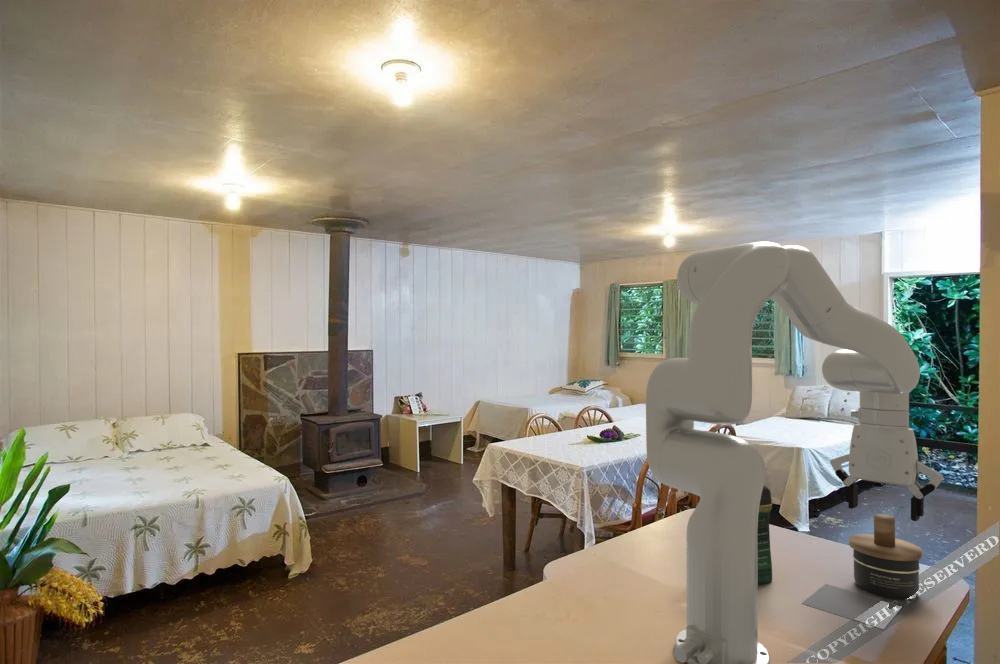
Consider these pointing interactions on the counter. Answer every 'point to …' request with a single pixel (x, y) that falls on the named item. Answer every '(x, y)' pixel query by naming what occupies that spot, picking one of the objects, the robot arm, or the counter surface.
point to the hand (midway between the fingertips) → (883, 513)
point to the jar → (886, 576)
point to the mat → (842, 601)
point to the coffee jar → (764, 539)
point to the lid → (885, 542)
